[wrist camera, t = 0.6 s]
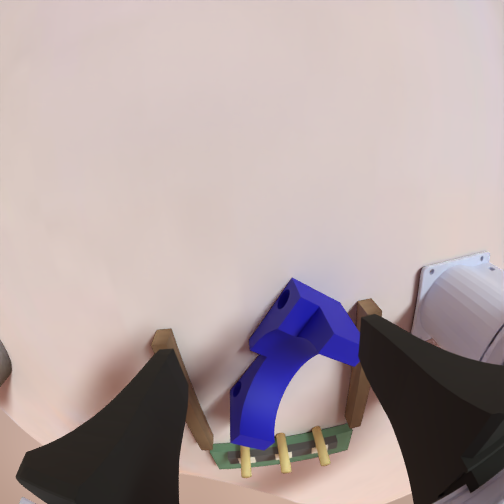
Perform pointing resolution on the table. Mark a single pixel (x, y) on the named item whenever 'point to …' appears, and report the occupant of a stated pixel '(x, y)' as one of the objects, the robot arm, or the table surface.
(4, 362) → the pillar candle
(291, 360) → the cable clip
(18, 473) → the robot arm
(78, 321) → the table surface
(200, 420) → the guide rails
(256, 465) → the header board
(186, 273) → the table surface
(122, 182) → the table surface
